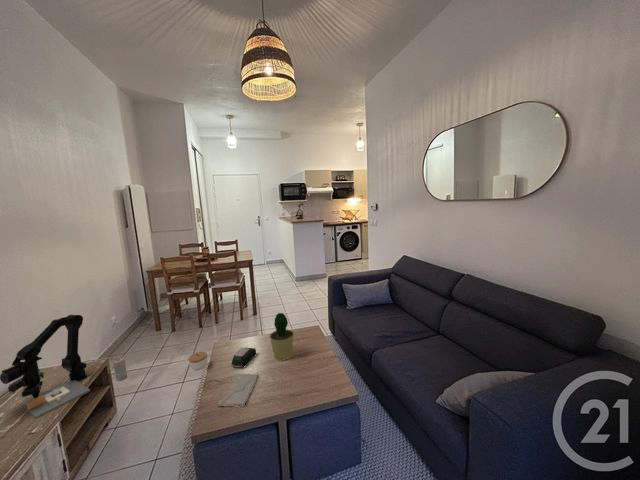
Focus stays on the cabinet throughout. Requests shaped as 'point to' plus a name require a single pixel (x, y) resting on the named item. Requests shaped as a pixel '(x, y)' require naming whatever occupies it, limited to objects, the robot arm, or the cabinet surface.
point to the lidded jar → (198, 360)
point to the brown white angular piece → (46, 398)
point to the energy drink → (120, 369)
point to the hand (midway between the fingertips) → (36, 398)
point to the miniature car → (243, 356)
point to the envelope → (240, 389)
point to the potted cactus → (281, 338)
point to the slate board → (75, 392)
